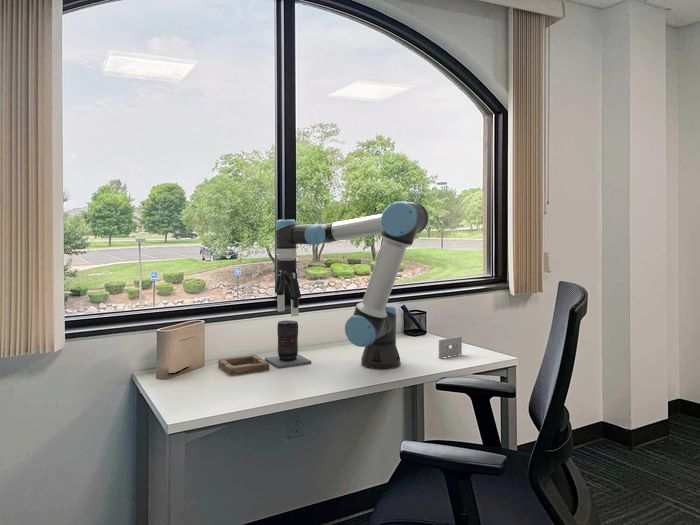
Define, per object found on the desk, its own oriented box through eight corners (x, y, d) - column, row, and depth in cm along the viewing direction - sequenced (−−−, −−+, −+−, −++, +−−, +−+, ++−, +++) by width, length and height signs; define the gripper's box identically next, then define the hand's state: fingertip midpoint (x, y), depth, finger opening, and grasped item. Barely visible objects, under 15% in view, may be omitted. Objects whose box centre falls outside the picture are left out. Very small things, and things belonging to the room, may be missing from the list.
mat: (311, 363, 217) (311, 361, 217) (277, 368, 210) (277, 365, 210) (296, 355, 229) (296, 353, 229) (264, 360, 223) (264, 357, 223)
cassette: (440, 359, 224) (440, 340, 223) (437, 358, 225) (437, 339, 225) (462, 355, 230) (462, 336, 230) (459, 354, 232) (459, 336, 231)
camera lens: (301, 360, 218) (301, 322, 217) (282, 363, 214) (282, 324, 213) (293, 355, 225) (292, 319, 224) (274, 358, 221) (274, 321, 220)
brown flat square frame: (269, 370, 208) (269, 363, 208) (230, 375, 201) (230, 368, 201) (255, 360, 221) (255, 354, 221) (218, 365, 214) (218, 359, 214)
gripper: (266, 258, 226) (267, 310, 227) (290, 261, 204) (291, 319, 206) (283, 257, 229) (284, 308, 231) (309, 260, 208) (310, 317, 209)
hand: (287, 313), depth 218 cm, fingers open, 13 cm apart
